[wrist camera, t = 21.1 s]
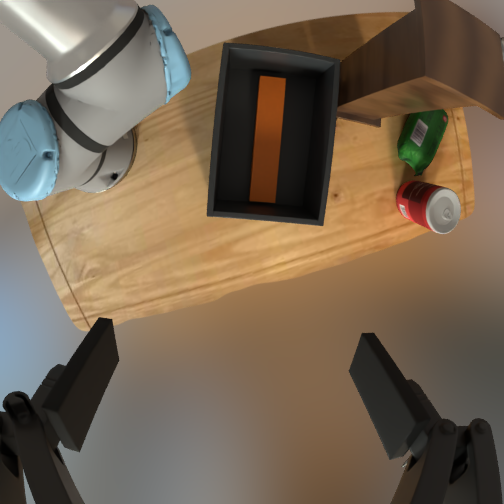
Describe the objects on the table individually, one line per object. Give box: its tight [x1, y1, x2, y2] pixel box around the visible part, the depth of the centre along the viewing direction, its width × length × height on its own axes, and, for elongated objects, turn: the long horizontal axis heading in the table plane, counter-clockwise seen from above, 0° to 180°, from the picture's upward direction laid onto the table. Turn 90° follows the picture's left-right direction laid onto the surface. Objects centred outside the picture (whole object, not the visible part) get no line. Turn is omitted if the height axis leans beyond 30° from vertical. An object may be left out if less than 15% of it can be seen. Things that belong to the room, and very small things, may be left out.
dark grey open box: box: [207, 43, 340, 226], centre depth 40 cm, size 16×24×11 cm, turn 175°
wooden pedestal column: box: [336, 0, 504, 127], centre depth 29 cm, size 11×10×30 cm
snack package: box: [397, 109, 448, 176], centre depth 43 cm, size 7×16×5 cm, turn 153°
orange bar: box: [249, 76, 286, 203], centre depth 43 cm, size 4×20×2 cm, turn 175°
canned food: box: [396, 180, 461, 234], centre depth 45 cm, size 8×8×11 cm
